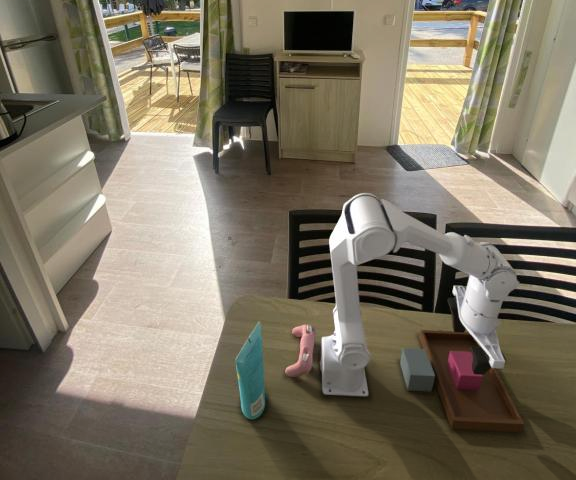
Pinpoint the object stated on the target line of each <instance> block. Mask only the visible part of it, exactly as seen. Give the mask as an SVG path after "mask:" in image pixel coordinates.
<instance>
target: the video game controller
mask: <svg viewBox="0 0 576 480" xmlns="http://www.w3.org/2000/svg"><path fill="white" fill-rule="evenodd" d="M316 332H317V329H316V327H315V326H314V325H312V324H308V323H306V324H302V325H299V326H295V327H294V328H293V329H292V331H291V333H292V335H293V336H295V337H296V338H300V343H299V349H300V351H299V356H298V360H297V362H295V363H294V364H291V365H289V366H287V367H286V368H285V370H284V372H285V375H286V376H287V377H290V378H298V377H301V376H304V375H308V374H309V372H310V371H311V370H312V369H313V366H314V365H313V364H314V362H313V353H314V346H315V338H316V337H315V336H316Z"/></svg>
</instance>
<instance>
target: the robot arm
mask: <svg viewBox="0 0 576 480" xmlns="http://www.w3.org/2000/svg"><path fill="white" fill-rule="evenodd" d="M328 242H329V243H328V244H329V252H330V261H331V271H332V278H333V279H332V280H333V287H334V289H333V290H334V296H335V307H334V308H333V310H332V317H333V322H334V323H333V324H334V331H333V334H331V335H328V336H322V337H321V346H320V360H319V369H320V370H319V371H320V372H321V386H322V393H323V395H327V396H345V397H368V396H369V390H368V383H367V377H366V371H365V368H366V366H368V364H369V363H370V361H371V353H370V351H369V348H368V342H367V337H366V332H365V327H364V323H363V318H362V315H363V314H362V309H361V307H360V292H359V280H358V267H357V266H359V265H362V264H364V263H367V262H370V261H372V260H375V259H378V258H381V257H383V256H385V255H387V254H389V253H390V252H391V251H392V253H397V252H398V251H399V250H400V249H401V247H402V246H403V245H404V244H405V243H408V244H411V245H413V246H415V247H419V248H422V249H424V250H426V251H430V252H432V253H436V254H438V255H439V258H440V260H441V261H442V262H443V263H444V264H445V265H446V266H449V267H451V268H453V269H455V270H458V271H459V272H462V273H465V274H467V275H469V276H468V280H467V285H466V288H465V287H464V286H463V285H453V288H452V294H453V296H454V297H448V298H447V303H448V306H449V309H450V314H451V321H452V322H451V323H452V329H453V330H452V331H454V332H462V333H464V332H466V331H467V332H469V333H470V334H471V335H472V336H473V337H474V339H475V340H476V341H477V342H478V343H479V345H480V346H481V347H476V346H470V349H471V351H472V355H473V362H472V371H473V373H474V374H479V375H484V374H485V373H486V372H487V371H488V370H490V369H491V368H495V369H500V370H501V369H502V370H503V369H504V368H505V365H506V364H507V358H506V356H505V355H504V353H503V351H502V349H501V346H500V341H499V338H498V333H497V330H496V329H497V328H499V327H500V322H499V320H498V318H499V314H500V311H501V308H502V304H503V301H505V300H506V299H507V298H508V296H509V294H510V293H511V292H512V291H514V290H515V289H516V288H518V286H519V284H520V281H519V280H518V277H517V276H518V275H517V272H516V271H515V269H514V268H513V267H512V266H511V264H510V263H509V262H508V260H507V259H506V258H505V257H504V256H503V254H502V253H501V252H500V250H499V249H498V248H497V247H496V246H495V245H493V243H491V242H489V241H481V242H477V241H474V240H473V238H472V237H471V236H469V235H467V234H464V235H461V234H458V233H456V232H453V231H449V232H447V233H445V234H444V233H442V232H440V231H439V230H437V229H435V228H433V227H431V226H429V225H428V224H425V223H424V222H422V221H420V220H419V219H417V218H415V217H413V216H410V215H409V214H408V213H405V212H404V211H402V210H401V209H400V208H398V207H397V206H396V205H394V204H393V203H391V202H390V201H388V200H387V199H383V198H379V197H377V196H376V195H375V194H373V193H371V192H370V193H369V192H361V193H357V194H356V195H354V196H353V197H351V198H349V200H347V201H346V202H344V203H343V206H342V212H341V215H340V217H339V219H338V221H337V223H336V224H335V227H334V229H333V230H332V232H331V234H330V236H329V240H328Z"/></svg>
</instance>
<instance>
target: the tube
mask: <svg viewBox="0 0 576 480" xmlns="http://www.w3.org/2000/svg"><path fill="white" fill-rule="evenodd" d="M262 334H263V333H262V323H261V321H260V320H259V321H258V322H257V324H256V325H255V327H254V328H253V330H252V331H251V333H250V334H249V336H248V338H247V339H246V340H245V342H244V344H243V346H242V347H241V349H240V351H239V353H238V354H237V356H236V358H235V360H234V361H235V367H236V375H237V381H238V389H239V396H240V407H241V412H242V414H243V415H244V417H245V418H246V419H249V420H255V419H258V418H259V417H260V416H261V415H262V414H263V412H264V411H265V407H266V389H265V388H266V387H265V371H264V370H265V369H264V354H263V353H264V352H263V336H262Z"/></svg>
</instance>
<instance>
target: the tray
mask: <svg viewBox="0 0 576 480" xmlns="http://www.w3.org/2000/svg"><path fill="white" fill-rule="evenodd" d="M419 341H420V343H421V346H422V349H426V352H427V355H428V358H429V360H430V363H431V366H432V369H433V372H434V374H435V379H434V383H435V387H436V389H437V392H438V394H439V397H440V401H441V404H442V406H443V409H444V411H445V415H446V417H447V420H448V424H449V426H450V429H452V430H472V431H490V432H507V433H508V432H509V433H510V432H511V433H522V432H523V429H524V427H525V422H524V419H523V418H522V416H521V414H520V412H519V411H518V409H517V406H516V404H515V403H514V401H513V399H512V398H511V396H510V393H509V391H508V390H507V388H506V386H505V384H504V382H503V380H502V378H501V377H500V375H499V373H498V371H497V368H491V369H490V370H488V371H487V372H486V373H485V374H484V375H482V376H483V378H482V381H481V384H480V387H479V390H462V389H457V388H456V386H455V383H454V381H453V378H452V376H451V373H450V371H449V368H448V366H447V362H448V358H449V354H450V351H465V352H471V353H472V351H471V349H470V346H476V347H481V346H480V345H479V343H478V342H477V341H476V340H475V339H474V337H473V336H472V335H471V334H470V333H469V332H468V331H465V332H464V333H462V332H454V330H429V329H420V330H419Z"/></svg>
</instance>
